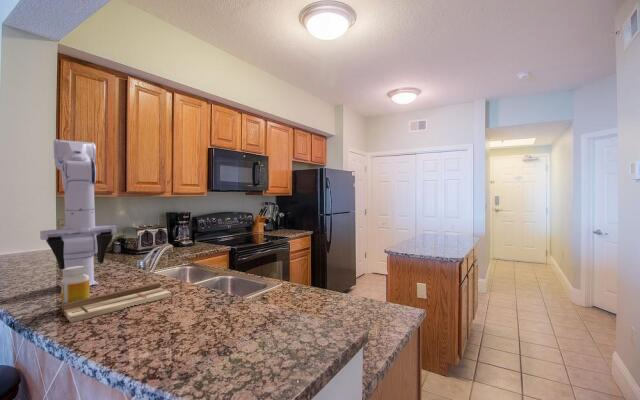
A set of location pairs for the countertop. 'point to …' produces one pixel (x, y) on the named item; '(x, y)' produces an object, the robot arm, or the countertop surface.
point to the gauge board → (113, 301)
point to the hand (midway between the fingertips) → (81, 265)
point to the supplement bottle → (74, 284)
